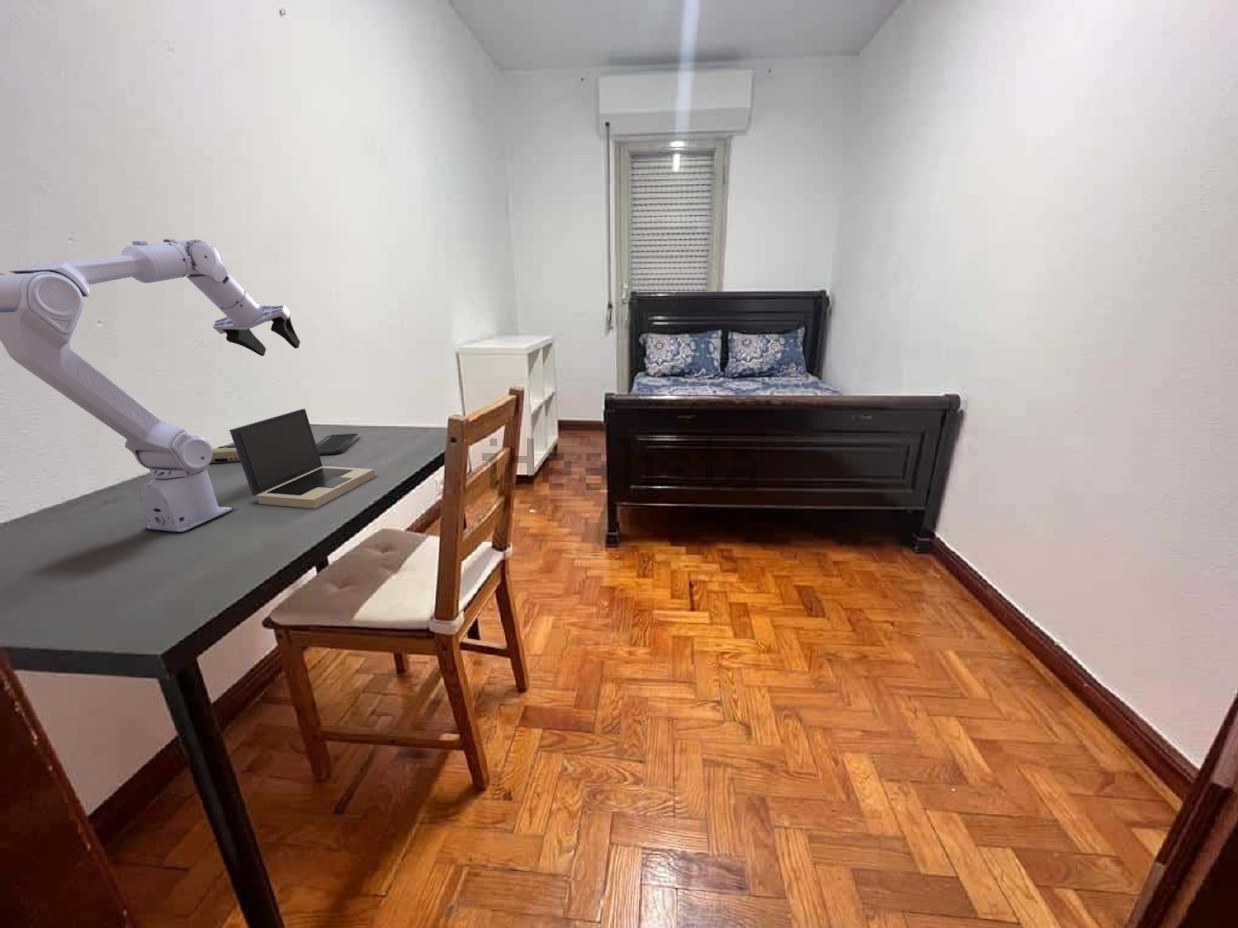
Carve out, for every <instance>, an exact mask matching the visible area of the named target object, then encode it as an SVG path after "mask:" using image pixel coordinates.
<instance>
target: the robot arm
mask: <svg viewBox="0 0 1238 928" xmlns="http://www.w3.org/2000/svg"><path fill="white" fill-rule="evenodd" d="M120 254H121V255H118V256H106V257H105V256H104V257H95V258H92V257H91V258H83V259H82V258H81V259H72V260H71V259H70V260H59V261H57V260H56V261H49V262H44V263H38V264H33V265H27V266H23V267H22V266H21V267H18V268H17V267H16V268H14V269H10V270H8V272H9V274H8V273H1V272H0V342H1V344H2V345H3V347H4V349H5V351H6V352H7V354H8V355H9V357H10V358H11V359H12V360H13V361H14V362H16V364H18V365H19V366H21V367H22V368H24V369H25V370H27V371H28V372H30V373H31V374H33V375H34V376H35V377H37V378H39V379H40V380H41V381H42V382H44V383H45V384H47V385H48V386H50V387H51V388H53V389H54V390H56V391H57V392H58V393H59V394H61V395H63V396H64V397H65V398H67V399H69V400H70V401H71V402H73V403H74V404H75V405H77V406H79V407H80V408H81V409H83V410H84V411H86V412H87V413H89V414H90V415H91V416H93V417H94V418H96V419H97V420H98V421H100V422H101V423H102V424H104V425H105V426H107V427H108V428H110V429H111V430H113V431H114V432H116V433H117V434H118V435H120V436H122V437H123V438H124V439H125V442H124V447H125V448H126V449H127V450H128V451H130V453H132V455H133V456H134V457H135V460H136V461H137V463H138V464H139V465H140V466H141V467H143V468H145V469H148V470H149V472H150V475H151V476H153V478H152V479H151V480H150V481H148V482H147V483H144V484H143V485H141V486H140V488H139V490H138V491H139V492H138V495H139V499H140V502H141V505H142V508H143V511H144V514H145V516H146V519H147V522H148V525H147V526H146V528H147V529H148V530H158V531H166V532H176V533H183V532H186V531H188V530H192V529H193V528H195V527H198V526H199V525H203V524H204V523H206V522H209V521H211V520H213V519H215V518H218V517H220V516H222V515H224V514H226V513H230V512H232V510H233V509H232V507H228V506H219V504H218V501H217V498H216V494H215V492H214V488H213V485H212V481H211V478H210V475H209V472H208V470H209V469H210V466H209V465H210V464H211V463H210V462H211V459H212V455H213V452H212V449H213V448H212V445H211V443H210V442H209V441H208V440H207V439H206V438H205V437H203V436H201V435H196V434H192V433H190V432H189V431H187V430H186V429H185V428H184V427H180V426H178V425H175V424H173V423H170V422H167V421H165V420H163V419H161V418H160V417H158V416H157V415H156V414H154V413H153V412H152V411H151V410H150V409H148V408H147V407H146V406H145V405H143V404H142V403H140V402H139V401H138V400H137V399H135V398H134V397H132V396H131V395H130V394H129V393H127V392H126V391H125V390H124V389H122V388H121V387H119V385H117V383H115V382H113V380H111V379H110V378H108V377H107V376H106V375H105V374H103V373H102V372H100V370H98V368H96V367H94V366H93V365H92V364H90V363H89V362H88V361H87V360H85V359H84V358H83V357H81V356H80V355H79V354H78V353H76V352H75V351H74V350H72V349H71V347H70V345H71V339H72V337H73V334H74V332H75V330H76V328H77V327H76V326H77V324H78V322H79V320H80V317H81V314H82V312H83V309H84V298H88V297H90V295H91V291H90V290H91V289H90V285H91V286H92V285H96V284H100V283H107V282H111V281H116V280H117V281H118V280H121V279H127V278H133V279H134V280H136V281H137V282H140V283H143V284H151V283H157V282H163V281H168V280H175V279H176V280H177V279H181V278H185V277H186V278H187V279H188V280H189V281H190V282H191V283H192V284H193V285H194V286H195V287H196V288H197V289H198V290H199V291H200V292H201V293H202V294H203V295H204V296H206V298H207V299H209V300H210V301H211V302H212V303H213V304H214V306H216V308H218V309H219V310H220V311H221V312H222V313H223V314H224V315H225V317H223V318H220V319H217V320H214V322H213V326H212V328H213V329H214V330H215V331H216V332H217V333H219V334H220V335H222V334H225V335H226V337H225V340H226V341H227V342H228V343H231V344H236V345H238V346H241V347H244V348H246V349H248V350H250V351H251V352H254V353H255V354H257V355H258V356H260V357H264V356H265V354H266V351H267V348H266V346H265V345H264V344H263V342H261V341H260V339H259V338H257V337H256V336H255V334H254V333H253V332H252V330H251V329H253V328H256V327H257V326H260V325H262V324H264V323H267V322H271V321H272V324H271V327H270V331H272V332H273V333H275V334H277V335H278V336H280V337H282V338H283V339H284V341H286V342H287V343H288V344H289V345H290V347H292V348H294V349H299V347H300V344H301V341H300V339H299V337H298V334H297V332H296V331H295V329H294V326H293V323H292V319H291V311H290V310H289V309H288V307H287V306H286V305H285V304H281V305H261V304H260V303H259V302H258V301H256V300H255V299H254V298H253V296H251V295H250V294H249V293H248V292H247V291H246V290H245V289H244V288H243V287H242V286H241V284H239V282H237V280H236V279H235V278H234V277H233V276H232V275H231V274H230V273H229V271H228V268H227V267H226V266H225V265H224V264H223V262H222V260H221V259H222V258H221V256H220V254H219V251H218V250H217V248H216V246H214V245H209V244H208V243H206V242H205V241H202V240H201V239H180V240H176V239H174V238H163V239H162V241H160V242H151V243H148V241H147V240H146V239H141V240H140V239H139V240H132V241H131V244H130V245H126V246H125V247H124V248H122V250H121V253H120Z"/></svg>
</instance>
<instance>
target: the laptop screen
mask: <svg viewBox="0 0 1238 928" xmlns="http://www.w3.org/2000/svg"><path fill="white" fill-rule="evenodd" d="M229 433H230V436H231V439H232V441H233V445H235V447H236V450H237V453H238V456H239V459H240V461H239V462H240V464H241V467H242V469H243V473H244V476H245V477H246V478H245V479H246V481H247V484H248V487H249V489H250V492H251V495H252V496H256V495H258V494H260V493H263V492H265V491H267V490H270V489H272V488H274V487H276V486H279V485H281V484H283V483H286V482H288V481H290V480H292V479H295V478H297V477H299V476H302V475H304V474H306V473H308V472H311V471H313V470H315V469H317V468H320V467H322V466H323V463H322V460H321V457H320V456H321V455H319V453H318V450H317V446H316V444H317V443H316V440H315V436H314V433H313V430H312V427H311V424H310V420H309V417H308V413H307V410H306V408H301V409H297V410H293V411H290V412H287V413H284V414H283V413H282V414H280V415H276V416H272V417H269V418H266V419H263V420H259V421H255V422H252V423H249V424H245V425H242V426H238V427H235V428H232V429H229Z"/></svg>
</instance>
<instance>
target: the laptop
mask: <svg viewBox="0 0 1238 928" xmlns="http://www.w3.org/2000/svg"><path fill="white" fill-rule="evenodd" d="M374 478H376V473H375V469H374V468H362V467H360V468H359V467H343V466H329V465H322V466H321V467H319V468H317V469H314V470H312V471H310V472H308V473H305V474H303V475H301V476H298V477H296V478H294V479H292V480H289V481H287V482H285V483H282V484H280V485H278V486H276V487H273V488H271V489H269V490H266V491H264V492H262V493H260V494H257V495H255V496H256V499H257V503H258V504H259V505H266V506H267V505H268V506H279V507H280V506H281V507H291V508H292V507H293V508H305V509H315V510H316V509H317V508H319V507H321V506H323V505H325V504H327V503H329V502H330V501H332V500H334V499H336V498H339V497H340V496H342V495H344V494H346V493H348V492H349V491H351V490H353V489H355V488H357V487H360V486H361V485H363V484H365V483H366V482H368V481H370V480H373V479H374Z"/></svg>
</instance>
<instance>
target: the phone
mask: <svg viewBox="0 0 1238 928" xmlns="http://www.w3.org/2000/svg"><path fill="white" fill-rule="evenodd" d="M358 439H359V433H342V434H330V435H327V436H326V437H324V438H323V439H322V440H320V441H319V442H318V443H316V446H317V450H318V453H319V456H325V455H327V456H328V455H338V454H342V453H344V452H346V450H347V449H349V447H351V446H352V445H353V444H354V443H355V442H356V441H357V440H358Z"/></svg>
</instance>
